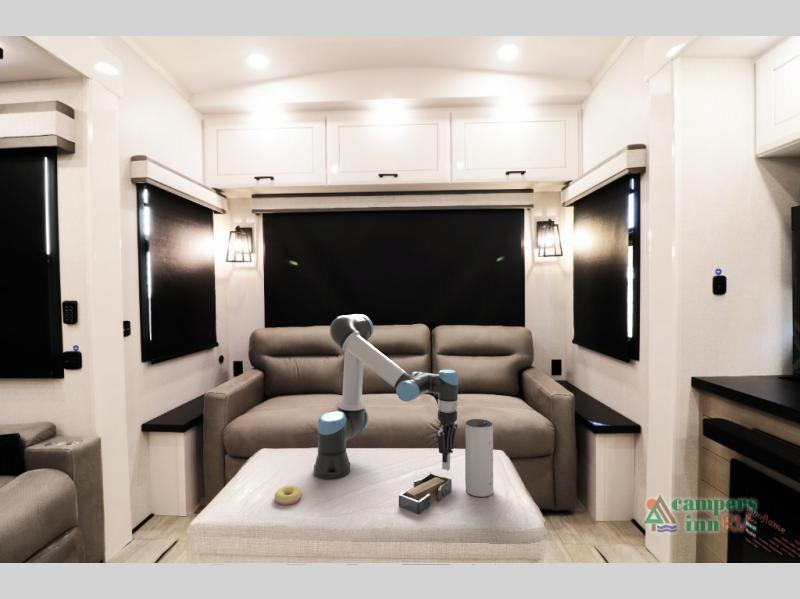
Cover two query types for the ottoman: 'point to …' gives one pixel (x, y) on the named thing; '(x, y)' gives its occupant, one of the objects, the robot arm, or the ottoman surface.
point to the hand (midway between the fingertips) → (445, 469)
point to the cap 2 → (443, 488)
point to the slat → (426, 489)
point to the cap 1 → (414, 502)
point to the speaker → (479, 457)
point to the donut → (288, 495)
